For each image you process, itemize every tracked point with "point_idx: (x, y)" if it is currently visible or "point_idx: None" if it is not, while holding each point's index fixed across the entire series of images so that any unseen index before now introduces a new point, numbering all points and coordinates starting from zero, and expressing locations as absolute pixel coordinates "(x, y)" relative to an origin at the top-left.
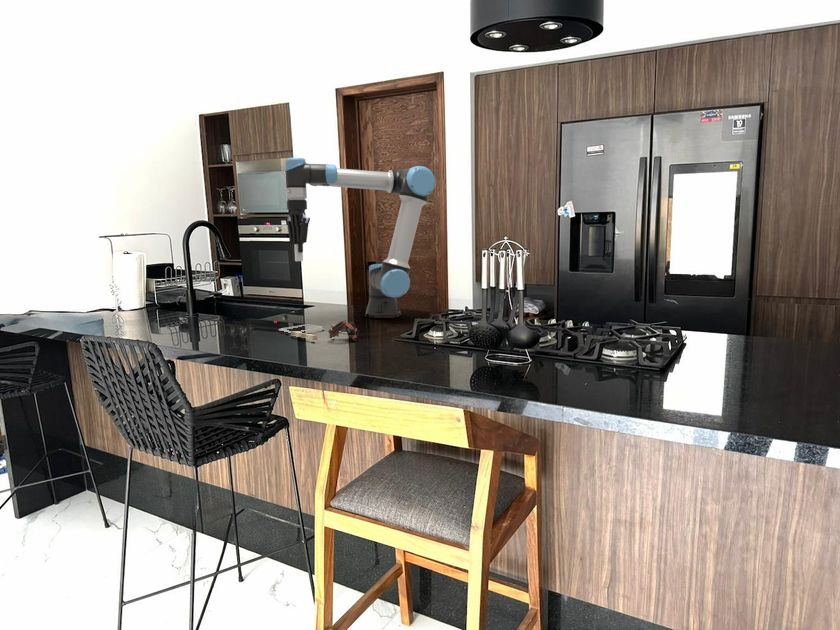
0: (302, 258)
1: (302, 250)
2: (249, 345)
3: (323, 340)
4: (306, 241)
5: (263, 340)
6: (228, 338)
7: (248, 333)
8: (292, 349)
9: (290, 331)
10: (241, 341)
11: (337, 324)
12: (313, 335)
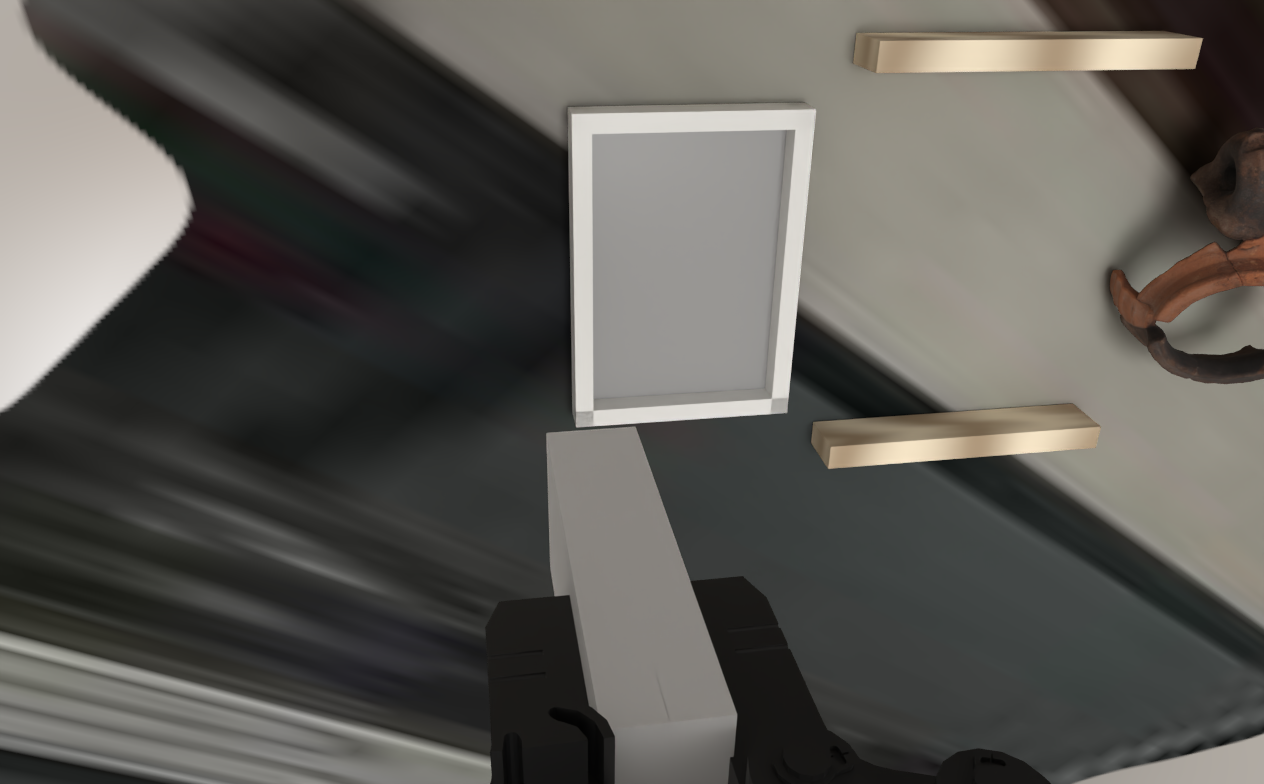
0: (646, 467)
1: (771, 626)
2: None
3: (1057, 334)
4: (1038, 773)
5: None
6: None
7: (422, 567)
8: (1067, 588)
9: (743, 415)
10: None
11: (1212, 293)
12: (1075, 440)
